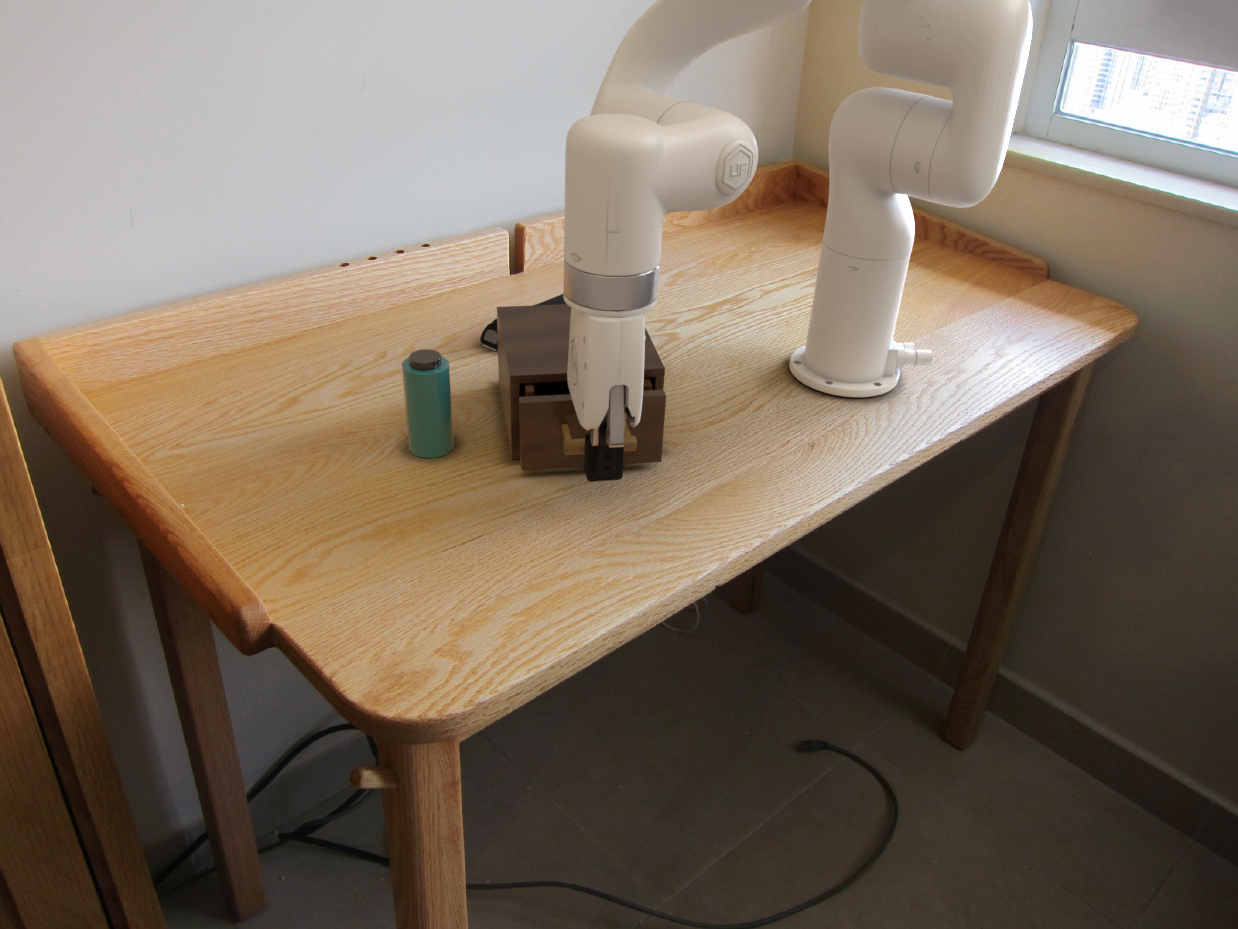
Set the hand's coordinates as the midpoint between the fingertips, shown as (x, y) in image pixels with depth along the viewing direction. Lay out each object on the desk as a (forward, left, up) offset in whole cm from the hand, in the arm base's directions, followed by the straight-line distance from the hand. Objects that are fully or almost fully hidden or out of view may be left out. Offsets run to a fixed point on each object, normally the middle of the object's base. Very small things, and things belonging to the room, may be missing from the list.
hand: (603, 475), depth 87 cm
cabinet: (+3, -17, -4) cm, 18 cm away
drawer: (+2, -11, -3) cm, 12 cm away
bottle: (+17, -10, -4) cm, 20 cm away
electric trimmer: (+9, -38, -4) cm, 40 cm away
